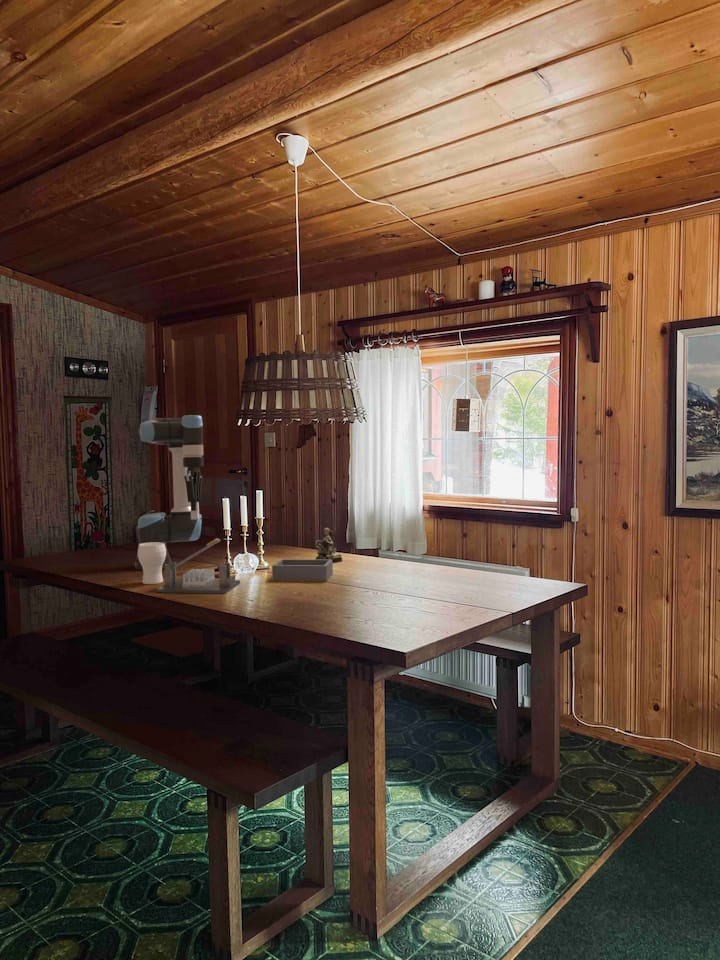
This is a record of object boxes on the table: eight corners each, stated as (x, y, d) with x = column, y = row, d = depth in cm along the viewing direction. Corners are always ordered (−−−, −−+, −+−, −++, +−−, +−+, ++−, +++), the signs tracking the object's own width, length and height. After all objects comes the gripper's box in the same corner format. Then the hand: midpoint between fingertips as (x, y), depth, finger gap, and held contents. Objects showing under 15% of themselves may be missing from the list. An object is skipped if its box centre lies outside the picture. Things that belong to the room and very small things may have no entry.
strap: (168, 572, 272) (165, 568, 272) (171, 571, 275) (168, 567, 275) (218, 542, 268) (216, 538, 268) (221, 541, 271) (218, 537, 271)
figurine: (311, 562, 323) (310, 529, 322) (322, 558, 333) (321, 526, 332) (335, 564, 318) (335, 530, 317) (345, 560, 328) (345, 527, 327)
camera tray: (281, 574, 298) (280, 559, 297) (332, 575, 295) (332, 559, 295) (272, 582, 284) (272, 565, 283) (326, 582, 281) (326, 566, 280)
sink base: (156, 592, 265) (155, 567, 264) (175, 582, 283) (174, 559, 282) (225, 593, 261) (224, 568, 261) (240, 583, 279) (239, 559, 279)
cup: (159, 585, 277) (157, 546, 277) (133, 584, 280) (132, 545, 279) (171, 579, 288) (170, 542, 287) (146, 579, 290) (145, 541, 289)
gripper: (190, 456, 280) (192, 517, 281) (176, 456, 267) (178, 521, 268) (208, 456, 279) (210, 517, 280) (196, 456, 266) (198, 520, 267)
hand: (195, 519), depth 274 cm, fingers closed
